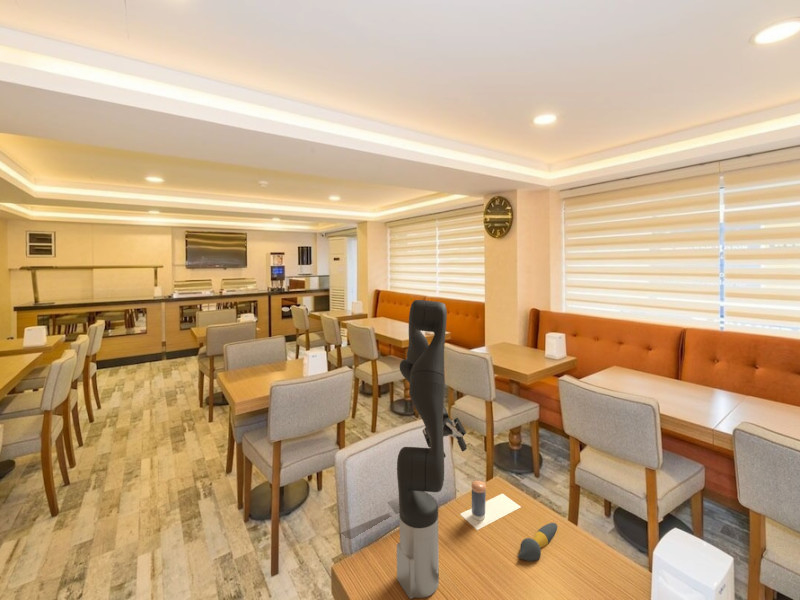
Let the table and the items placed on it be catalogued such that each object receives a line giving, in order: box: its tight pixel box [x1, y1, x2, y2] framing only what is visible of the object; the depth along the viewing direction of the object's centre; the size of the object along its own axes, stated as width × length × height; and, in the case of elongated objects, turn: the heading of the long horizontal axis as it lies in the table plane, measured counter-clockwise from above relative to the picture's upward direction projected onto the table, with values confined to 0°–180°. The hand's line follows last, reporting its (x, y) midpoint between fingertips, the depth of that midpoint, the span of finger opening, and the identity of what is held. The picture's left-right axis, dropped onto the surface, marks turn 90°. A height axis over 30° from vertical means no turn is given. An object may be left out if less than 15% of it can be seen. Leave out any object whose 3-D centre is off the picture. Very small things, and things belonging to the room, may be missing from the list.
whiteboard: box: [459, 493, 522, 531], centre depth 108 cm, size 20×9×1 cm, turn 120°
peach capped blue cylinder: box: [471, 480, 487, 521], centre depth 105 cm, size 4×4×10 cm
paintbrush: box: [517, 522, 558, 562], centre depth 96 cm, size 20×5×5 cm, turn 137°
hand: (454, 454), depth 113 cm, fingers open, 8 cm apart
